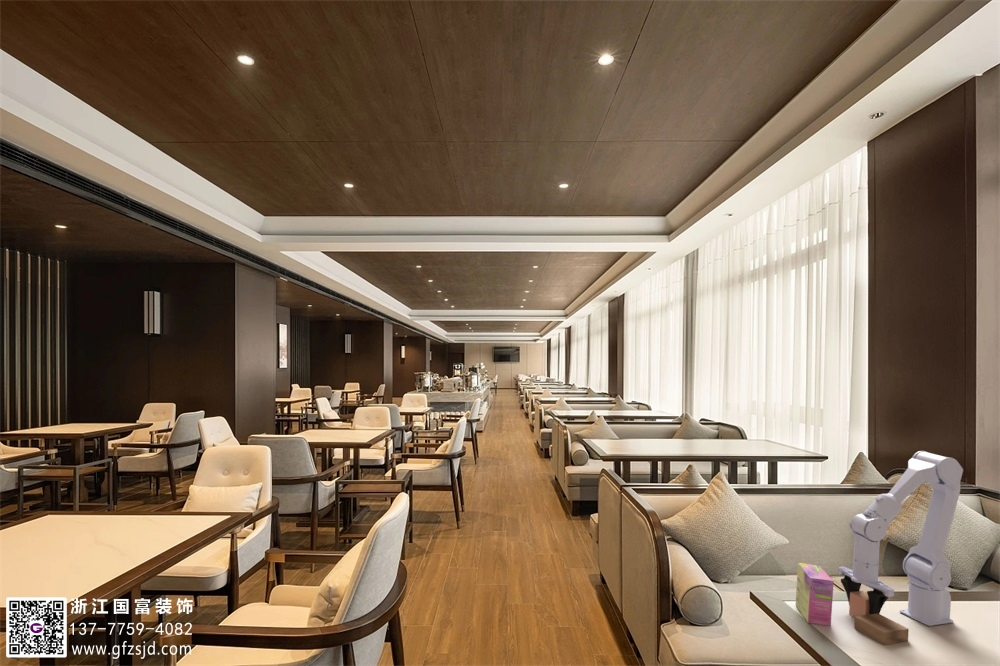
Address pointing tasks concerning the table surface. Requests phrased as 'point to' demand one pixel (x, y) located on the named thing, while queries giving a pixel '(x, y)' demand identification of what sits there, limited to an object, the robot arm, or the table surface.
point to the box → (814, 594)
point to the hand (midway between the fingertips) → (863, 612)
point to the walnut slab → (881, 629)
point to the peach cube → (859, 604)
